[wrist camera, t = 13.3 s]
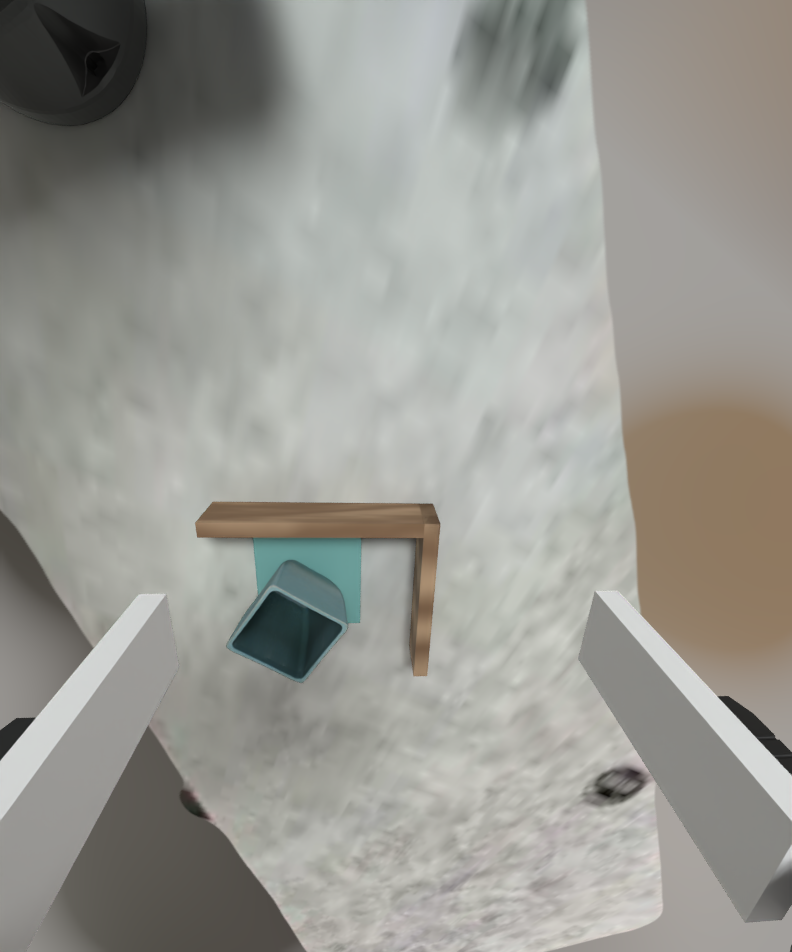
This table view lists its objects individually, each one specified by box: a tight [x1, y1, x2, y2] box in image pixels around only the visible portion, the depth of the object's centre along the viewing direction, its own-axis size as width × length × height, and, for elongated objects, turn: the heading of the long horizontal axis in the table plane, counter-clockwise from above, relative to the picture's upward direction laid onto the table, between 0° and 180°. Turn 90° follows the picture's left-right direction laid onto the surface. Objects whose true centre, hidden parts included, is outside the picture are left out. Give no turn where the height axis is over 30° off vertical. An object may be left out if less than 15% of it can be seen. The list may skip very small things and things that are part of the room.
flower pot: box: [226, 560, 348, 683], centre depth 44 cm, size 9×9×9 cm
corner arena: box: [195, 502, 440, 676], centre depth 47 cm, size 20×24×5 cm
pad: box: [253, 538, 361, 623], centre depth 49 cm, size 12×12×1 cm
